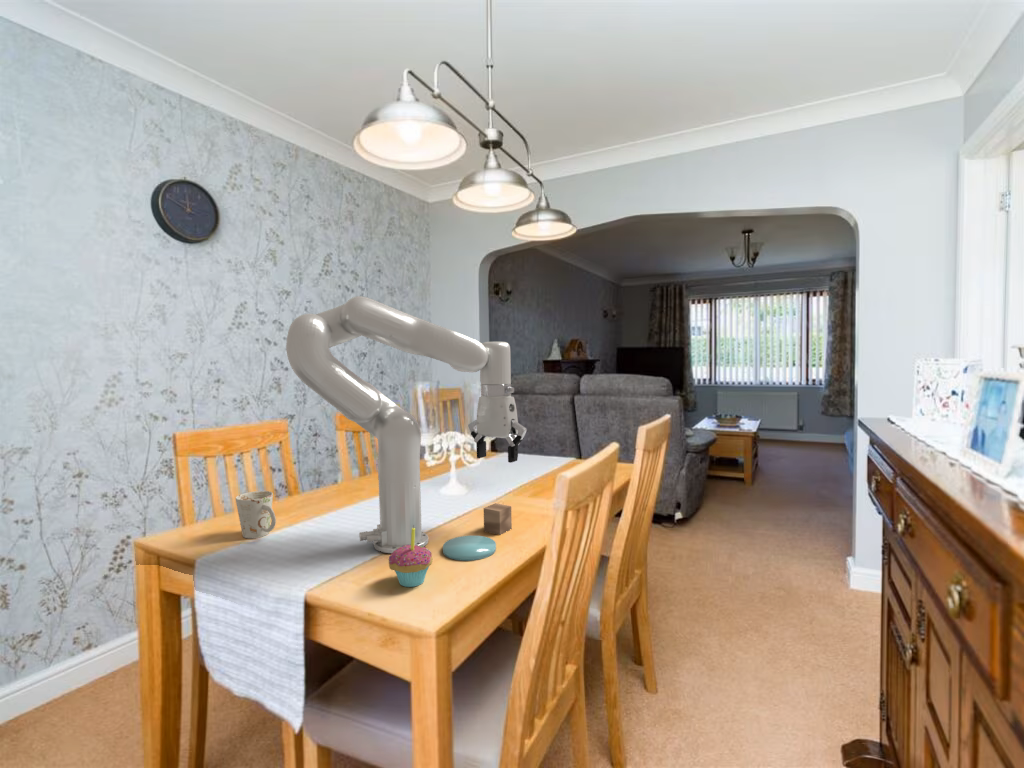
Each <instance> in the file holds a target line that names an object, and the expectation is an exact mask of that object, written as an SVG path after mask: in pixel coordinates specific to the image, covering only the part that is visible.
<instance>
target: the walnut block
mask: <svg viewBox="0 0 1024 768" xmlns="http://www.w3.org/2000/svg"><path fill="white" fill-rule="evenodd" d="M512 522H513V521H512V506H511V505H507V504H503V503H502V504H501V503H493V504H491V505H488V506H485V507H483V532H485V533H488V532H489V533H488V534H493V533H494V535H497V534H499V535H498V536H501V534H502V535H504V534H505V533H507V532H509V531H511V530H512V525H513V523H512ZM510 529H511V530H510ZM506 531H507V532H506Z"/></svg>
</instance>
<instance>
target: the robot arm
mask: <svg viewBox="0 0 1024 768" xmlns="http://www.w3.org/2000/svg"><path fill="white" fill-rule="evenodd" d="M360 337H365V338H367V339H370V340H373V341H376V342H379V343H380V344H383V345H386V346H388V347H391V348H394V349H397V350H398V351H402V352H404V353H408V354H410V355H414V356H415V355H417V356H423V357H426V358H431V359H434V360H437V361H440V362H442V363H446V364H448V365H449V366H450V368H452V369H453V370H455V371H458V372H463V373H477V372H480V396H479V397H478V403H477V409H476V411H477V412H476V419H475V420H474V421H471V422H470V423H468V424H467V425H468V426H467V427H468V430H469V432H470V436H471V437H472V438H473V442H474V443H476V459H482V458H485V457H487V441H486V440H485V439H486V438H488V437H490V438H491V437H492V438H498V439H500V438H501V439H505V440H506V441H507V443H508V444H509V446H508V447H507V462H508V463H511V464H512V463H515V462H517V461H518V459H519V445H520V444H521V443H522V441H524V438H525V436H526V433H527V431H528V429H527V427H525V426H523V424H521V423H519V419H518V410H517V405H516V400H515V397H514V396H512V393H513V394H514V393H515V387H514V386H513V387H512V384H511V383H512V376H511V374H512V373H511V372H512V368H511V367H512V366H511V362H512V361H511V346H510V343H508V342H507V341H484V342H480V341H478V340H477V339H474V338H472V337H469V336H467V335H465V334H462V333H460V332H458V331H455V330H452V329H450V328H446V327H444V326H442V325H439V324H435V323H432V322H431V321H428V320H425V319H422V318H419V317H416V316H414V315H412V314H409V313H406V312H404V311H401V310H400V309H397V308H394V307H392V306H389V305H387V304H384V303H382V302H380V301H377V300H375V299H372V298H370V297H366V296H361V295H358V296H354V297H352V298H350V299H349V300H347V301H346V303H343V304H341V305H339V306H335V307H333V308H331V309H328V310H325V311H322V312H318V313H316V314H314V313H305V314H301V315H299V316H297V317H295V319H294V320H293V321H292V322H291V324H290V326H289V328H288V332H287V335H286V346H285V347H286V349H285V350H286V356H287V360H288V362H289V365H290V367H291V369H292V370H293V373H294V374H295V375H296V376H297V377H298V379H299V380H300V381H301V382H303V383H304V384H305V385H306V386H307V387H308V388H310V389H311V390H312V391H313V392H314V393H315V394H317V395H318V396H319V397H321V398H322V399H323V400H324V401H326V402H327V403H328V404H330V405H331V406H332V407H333V408H335V409H336V410H338V411H339V413H341V414H342V415H343V416H344V417H345V418H347V420H349V421H351V422H354V423H355V424H357V426H360V427H361V428H362V429H364V430H365V431H366V432H368V433H369V434H371V435H372V436H373V437H375V438H376V439H377V444H378V445H377V448H378V449H377V452H378V453H377V455H378V456H377V467H378V468H377V473H378V478H377V479H378V496H379V497H378V501H379V503H378V505H379V506H378V507H379V524H377V525H376V528H373V529H372V530H370V531H361V532H360V531H359V533H358V535H359V536H358V537H359V542H361V541H366V543H371V542H373V547H374V549H375V550H376V551H379V552H380V551H381V553H387V554H392V552H394V551H395V550H396V549H398V548H400V547H401V546H404V545H411V532H412V528H413V525H414V528H415V542H414V545H419V546H423V547H425V546H427V545H428V544H429V535H428V534H427V533H426V532H424V531H422V528H423V527H422V500H421V499H422V496H421V491H422V490H421V469H420V467H421V466H420V465H421V464H420V463H421V441H422V434H421V433H422V432H421V427H420V424H419V423H418V420H417V419H416V418H415V417H414V415H412V414H411V413H409V412H408V411H406V410H405V409H403V408H402V407H400V406H399V405H398V404H397V403H395V402H394V401H392V400H391V399H390V398H389V397H387V396H386V395H385V394H384V393H382V392H381V391H380V390H378V389H377V388H376V387H375V386H374V385H373V384H372V383H370V382H368V381H365V380H363V379H362V378H361V377H359V376H358V375H357V374H355V373H354V372H353V371H351V369H349V368H348V367H347V366H346V365H344V364H343V363H342V362H341V361H339V360H338V359H337V358H336V357H335V356H334V355H333V353H332V352H331V350H330V348H333V347H335V346H338V345H341V344H344V343H347V342H350V341H352V340H354V339H357V338H360Z"/></svg>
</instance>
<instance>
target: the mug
mask: <svg viewBox="0 0 1024 768" xmlns="http://www.w3.org/2000/svg"><path fill="white" fill-rule="evenodd" d="M273 498H274V493H273V492H272V491H270V490H268V491H267V490H257V491H249V492H245V493H241V494H239V495H237V496H236V497H235V503H236V504H235V505H236V508H237V514H238V519H239V525H240V527H241V533H242V535H241V536H242V538H245V539H258V538H262V537H265V536H267V535H269V534H270V532H271V531H273V530H274V528H275V527H276V523H277V521H276V520H277V518H276V515H275V511H274V509H273Z"/></svg>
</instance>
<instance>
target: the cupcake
mask: <svg viewBox="0 0 1024 768" xmlns="http://www.w3.org/2000/svg"><path fill="white" fill-rule="evenodd" d="M414 542H415V528H414V525H413V528H412V532H411V545H404V546H401V547H400V548H398V549H396V550H395V551H394V552H392V553H389V554H390V555H389V556H388V567H389V569H390V570H391V571H394V572H395V574H396V577H397V580H398V582H399V585H400V586H402V587H405V588H414V587H418V586H420V585H422V584H423V583H424V582H425V579H426V574H427V572H428V569H429V567H431V565H432V564H433V554H432V551H431V550H430V549H429V548H427V547H425V546H424V547H423V546H419V545H414Z"/></svg>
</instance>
